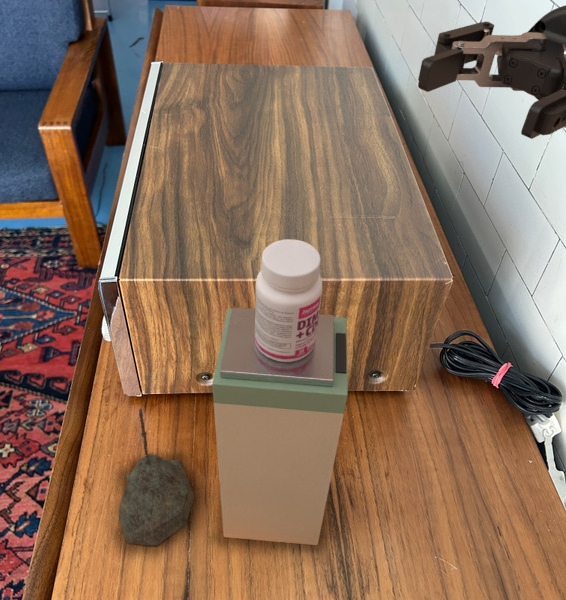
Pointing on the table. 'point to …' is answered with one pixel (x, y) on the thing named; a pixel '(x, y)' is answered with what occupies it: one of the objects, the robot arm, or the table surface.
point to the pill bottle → (288, 300)
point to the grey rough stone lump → (154, 499)
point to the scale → (282, 368)
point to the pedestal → (275, 471)
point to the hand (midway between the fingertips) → (473, 98)
